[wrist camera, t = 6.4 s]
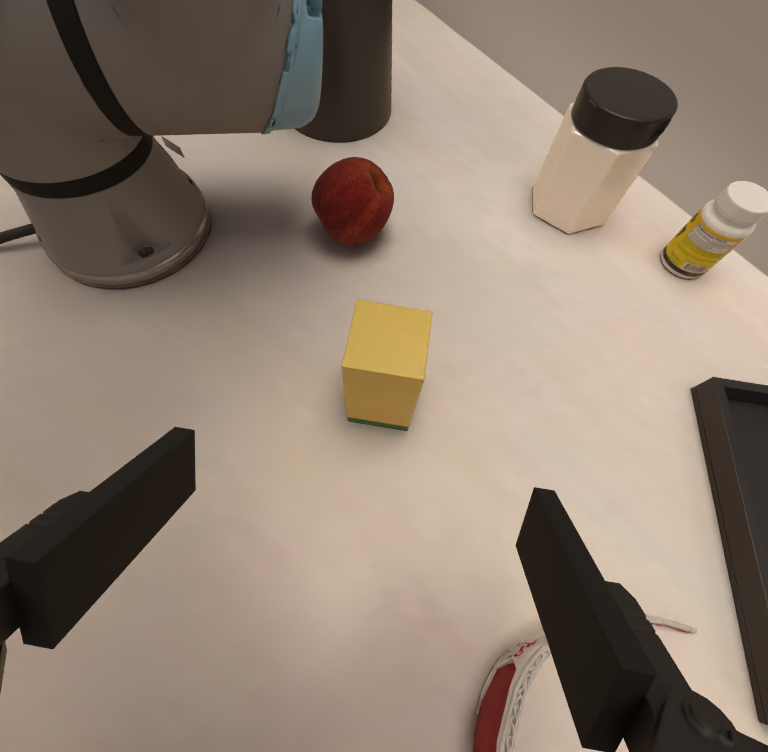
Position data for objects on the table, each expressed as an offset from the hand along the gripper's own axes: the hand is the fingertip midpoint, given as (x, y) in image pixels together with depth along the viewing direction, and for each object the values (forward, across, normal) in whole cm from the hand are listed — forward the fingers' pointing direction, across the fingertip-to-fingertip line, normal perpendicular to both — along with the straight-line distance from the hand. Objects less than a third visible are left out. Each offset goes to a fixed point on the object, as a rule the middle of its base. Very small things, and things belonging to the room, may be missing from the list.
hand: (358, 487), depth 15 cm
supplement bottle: (+33, +29, +11) cm, 45 cm away
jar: (+37, +17, +15) cm, 44 cm away
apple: (+31, -6, +9) cm, 33 cm away
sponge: (+18, 0, -4) cm, 18 cm away
